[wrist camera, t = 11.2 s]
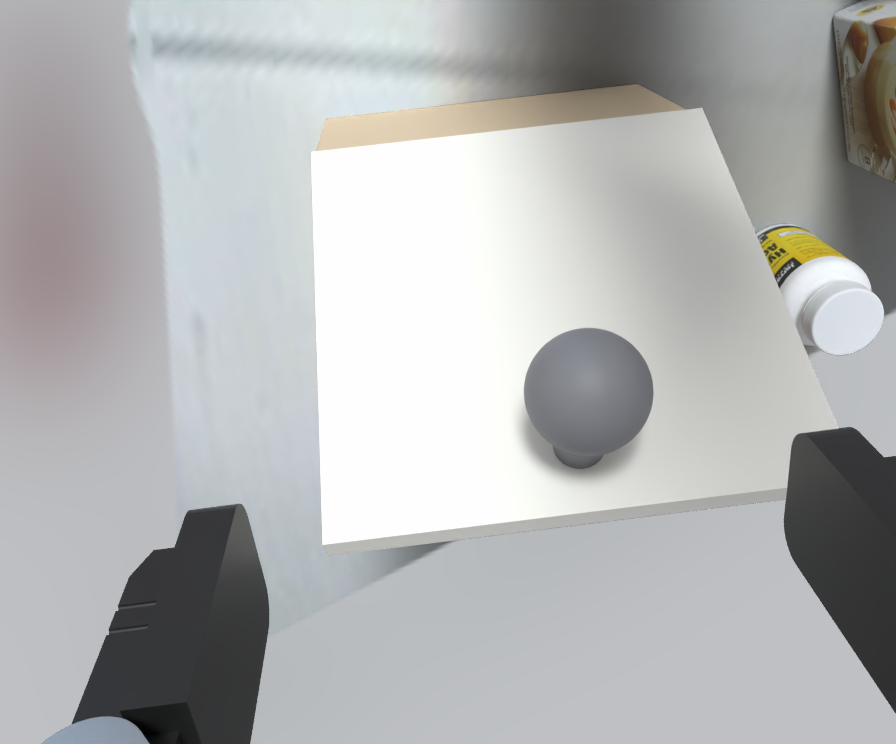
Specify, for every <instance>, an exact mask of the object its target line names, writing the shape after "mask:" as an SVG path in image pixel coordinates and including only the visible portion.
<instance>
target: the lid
mask: <svg viewBox="0 0 896 744" xmlns="http://www.w3.org/2000/svg"><path fill="white" fill-rule="evenodd" d="M311 165H312V199H313V233H314V267H315V301H316V335H317V369H318V403H319V437H320V470H321V504H322V538H323V547H324V549H325V551H326V553H327V556H333V555H341V554H349V553H357V552H365V551H373V550H381V549H389V548H398V547H406V546H414V545H422V544H430V543H438V542H446V541H454V540H462V539H470V538H478V537H486V536H494V535H503V534H510V533H519V532H527V531H535V530H543V529H551V528H559V527H568V526H575V525H583V524H592V523H600V522H608V521H616V520H624V519H632V518H640V517H649V516H656V515H665V514H672V513H681V512H689V511H697V510H706V509H713V508H722V507H730V506H738V505H746V504H754V503H762V502H770V501H778V500H786V494H787V484H788V474H789V464H790V455H791V446H792V442H793V440H794V438H795V436H796V435H797V434H799V433H807V432H815V431H822V430H830V429H838V428H839V427H838V425H837V423H836V420H835V418H834V415H833V413H832V411H831V409H830V406H829V404H828V401H827V399H826V397H825V394H824V392H823V390H822V388H821V385H820V383H819V380H818V378H817V376H816V373H815V371H814V369H813V366H812V364H811V362H810V359H809V357H808V354H807V352H806V350H805V347H804V345H803V343H802V340H801V338H800V336H799V333H798V331H797V329H796V326H795V324H794V322H793V319H792V317H791V315H790V312H789V310H788V308H787V305H786V303H785V301H784V298H783V296H782V294H781V291H780V289H779V287H778V284H777V282H776V280H775V277H774V275H773V273H772V270H771V268H770V266H769V263H768V261H767V259H766V256H765V254H764V251H763V249H762V247H761V244H760V242H759V240H758V237H757V235H756V233H755V230H754V228H753V226H752V223H751V221H750V219H749V216H748V214H747V212H746V209H745V207H744V205H743V202H742V200H741V198H740V195H739V193H738V191H737V188H736V186H735V184H734V181H733V179H732V177H731V174H730V172H729V170H728V167H727V165H726V163H725V160H724V158H723V156H722V153H721V151H720V148H719V146H718V144H717V141H716V139H715V137H714V134H713V132H712V130H711V127H710V125H709V123H708V120H707V118H706V116H705V113H704V111H703V109H702V108H696V109H687V110H678V111H669V112H660V113H651V114H643V115H634V116H625V117H616V118H607V119H598V120H589V121H581V122H572V123H563V124H554V125H545V126H536V127H527V128H518V129H510V130H501V131H492V132H483V133H474V134H465V135H456V136H447V137H439V138H430V139H421V140H412V141H403V142H394V143H385V144H376V145H368V146H359V147H350V148H341V149H332V150H323V151H314V152H311Z"/></svg>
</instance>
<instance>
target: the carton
mask: <svg viewBox="0 0 896 744" xmlns="http://www.w3.org/2000/svg"><path fill="white" fill-rule="evenodd" d="M678 110H686V109H684V108H682V107H681V106H679V105H677V104H675V103H673V102H671V101H669V100H667V99H665V98H663V97H661V96H659V95H658V94H656V93H654V92H652V91H650V90H648V89H646V88H644V87H642V86H640V85H638V84H633V85H624V86H615V87H606V88H597V89H588V90H579V91H570V92H561V93H552V94H543V95H534V96H525V97H516V98H507V99H499V100H490V101H481V102H472V103H463V104H454V105H445V106H436V107H427V108H418V109H409V110H400V111H391V112H382V113H373V114H365V115H356V116H347V117H338V118H329V119H326V121H325V124H324V127H323V130H322V134H321V137H320V140H319V143H318V146H317V149H316V151H323V150H332V149H341V148H350V147H359V146H368V145H376V144H385V143H394V142H403V141H412V140H421V139H430V138H439V137H447V136H456V135H465V134H474V133H483V132H492V131H501V130H510V129H518V128H527V127H536V126H545V125H554V124H563V123H572V122H581V121H589V120H598V119H607V118H616V117H625V116H634V115H643V114H651V113H660V112H669V111H678Z"/></svg>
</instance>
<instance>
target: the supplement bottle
mask: <svg viewBox="0 0 896 744" xmlns="http://www.w3.org/2000/svg"><path fill="white" fill-rule="evenodd" d="M756 235H757V237H758V240H759V242H760V244H761V247H762V249H763V251H764V254H765V256H766V259H767V261H768V263H769V266H770V268H771V270H772V273H773V275H774V277H775V280H776V282H777V284H778V287H779V289H780V291H781V294H782V296H783V298H784V301H785V303H786V305H787V308H788V310H789V312H790V315H791V317H792V319H793V322H794V324H795V326H796V329H797V331H798V333H799V336H800V338H801V340H802V343H803V344H804V345H809V346H817V347H818V348H819V349H820V350H822V351H823V352H826V353H828V354H831V355H839V356H842V355H848V354H852V353H855V352H857V351H859V350H861V349H863V348H864V347H866V346H867V345H868V344H869V343H870V342H872V341H873V339H874V338H875V337H876V336H877V334H878V333H879V331H880V329H881V327H882V324H883V321H884V309H883V305H882V302H881V301H880V299H879V298H878V297H877V296H876V295H875V294H874V293H873V292H872V290H871V285H870V282H869V279H868V277H867V275H866V274H865V272H864V271H863V270H862V269H861V268H860V267H859V266H858V265H856V264H855V263H854V262H852V261H851V260H850V259H848V258H846V257H845V256H844V255H842V254H841V253H839V252H838V251H836V250H835V249H833V248H832V247H830V246H829V245H827V244H826V243H824V242H823V241H822V240H820V239H819V238H817V237H816V236H815V235H813V234H812V233H810V232H809V231H807V230H805V229H804V228H802V227H799V226H796V225H792V224H778V225H774V226H770V227H767V228H765V229H763V230H761V231H759V232H758V233H756Z"/></svg>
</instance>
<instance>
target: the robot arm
mask: <svg viewBox="0 0 896 744" xmlns="http://www.w3.org/2000/svg"><path fill="white" fill-rule="evenodd" d="M784 530H785V537H786V541H787V545H788V548H789V551H790V554H791V556H792V558H793V560H794V562H795V563H796V565H797V566H798V568H799V569H800V571H801V572H802V574H803V576H804V577H805V578H806V580H807V581H808V583H809V584H810V586H811V587H812V589H813V590H814V592H815V593H816V595H817V596H818V598H819V599H820V601H821V602H822V604H823V605H824V607H825V608H826V610H827V611H828V613H829V614H830V616H831V617H832V619H833V620H834V622H835V623H836V625H837V626H838V628H839V629H840V631H841V632H842V634H843V635H844V637H845V638H846V640H847V641H848V643H849V644H850V646H851V647H852V649H853V650H854V652H855V653H856V655H857V656H858V658H859V659H860V661H861V662H862V664H863V665H864V667H865V668H866V670H867V671H868V672H869V674H870V676H871V677H872V678H873V680H874V682H875V683H876V685H877V686H878V688H879V689H880V691H881V692H882V694H883V695H884V697H885V698H886V700H887V701H888V703H889V704H890V705H891V707H892V709H893V710H894V712H895V713H896V456H893V457H885V458H884V457H883V456H882V455H881V454H880V453H879V452H878V451H877V450H876V449H875V448H874V447H873V446H872V445H871V444H870V443H869V442H868V441H867V440H866V439H865V438H864V437H863V436H862V435H861V434H860V433H859V432H858V431H857V430H856V429H854V428H852V427H846V428H838V429H830V430H822V431H815V432H807V433H799V434H797V435H796V436H795V438H794V440H793V442H792V446H791V455H790V464H789V474H788V484H787V494H786V504H785V514H784ZM118 608H119V610H118V611H116V612H115V615H114V618H113V620H112V622H111V625H110V628H109V635H107V636H106V638H105V640H104V643H103V645H102V648H101V651H100V653H99V656H98V658H97V661H96V663H95V666H94V668H93V671H92V673H91V676H90V678H89V681H88V684H87V686H86V689H85V691H84V694H83V696H82V699H81V702H80V704H79V707H78V709H77V712H76V714H75V717H74V719H73V722H72V725H70V726H68V727H66V728H64V729H62V730H60V731H58V732H57V733H55V734H54V735H52V736H51V737H49V738H48V739H46V740H45V741H44V742H43V743H42V744H250V741H251V735H252V729H253V723H254V716H255V710H256V703H257V697H258V691H259V685H260V679H261V673H262V667H263V660H264V654H265V647H266V642H267V635H268V628H269V602H268V594H267V588H266V583H265V580H264V576H263V572H262V568H261V565H260V561H259V557H258V553H257V549H256V546H255V542H254V538H253V534H252V531H251V527H250V523H249V519H248V516H247V513H246V510H245V508H244V506H243V505H242V504H234V505H226V506H219V507H211V508H203V509H195V510H189V511H188V512H187V514H186V516H185V518H184V521H183V524H182V527H181V530H180V533H179V536H178V539H177V542H176V545H175V548H168V549H160V550H154V551H153V552H152V553H151V554H150V555H149V556H148V557H147V558H146V559H145V560H144V562H143V563H142V564H141V565H140V566H139V567H138V568H137V569H136V570H135V571H134V572H133V574H132V575H131V576H130V577H129V579H128V582H127V584H126V587H125V589H124V592H123V594H122V597H121V600H120V603H119V605H118Z"/></svg>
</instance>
